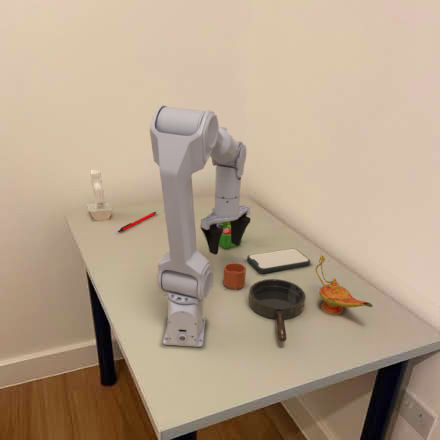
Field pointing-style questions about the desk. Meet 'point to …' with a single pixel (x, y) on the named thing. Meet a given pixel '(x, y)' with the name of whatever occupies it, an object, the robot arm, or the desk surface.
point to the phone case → (278, 260)
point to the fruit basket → (226, 235)
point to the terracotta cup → (234, 275)
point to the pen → (136, 222)
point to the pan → (276, 298)
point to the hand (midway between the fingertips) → (224, 248)
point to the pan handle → (280, 326)
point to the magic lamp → (336, 295)
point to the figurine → (98, 199)
